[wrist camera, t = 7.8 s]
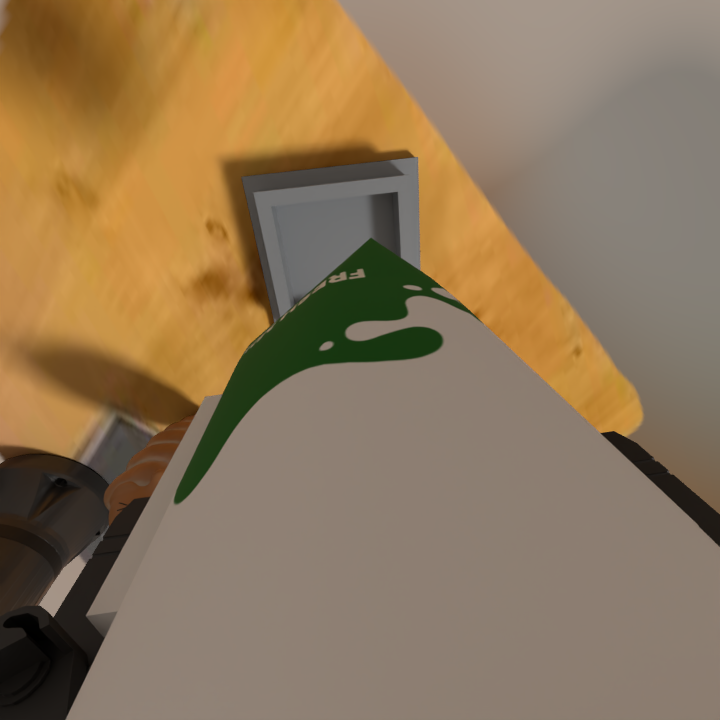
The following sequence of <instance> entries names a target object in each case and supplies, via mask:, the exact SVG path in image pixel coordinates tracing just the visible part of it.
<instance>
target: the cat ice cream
mask: <svg viewBox="0 0 720 720" xmlns="http://www.w3.org/2000/svg"><path fill="white" fill-rule="evenodd" d="M194 417H195V415H191V416H188V417H185V418H184V419H182V420H181V421H180V422H177V423H174V424H171V425H170V426H168V427H167V428H166V429H165V430H164V431H163V432H160V433H158V434H157V435H155V436H154V437H152V438H151V439H150V441H149V442H148V444H147V446H146V448H145V449H143V450H142V451H140V452H139V453H137V454H136V455H135V456H133V457H132V458H131V460H130V461H129V463H128V465H127V467H126V471H125V472H124V473H123V474H121V475H120V476H118V477H117V478H116V479H115V480H114V481H113V482H112V483H111V484H110V485H109V486H108V488H107V489H106V491H105V494H104V504H105V506H106V508H107V509H108V510H109V527H110V525H111V523H112V522H113V520H114V519H115V517H116V516H117V515H118V514H119V513H120V512H121V511H122V510H123V509H124V508H125V507H126V506H127V505H128V504H129V503H130V502H131V501H132V500H133V499H137V498H144V497H151V495H152V494H153V492H154V490H155V488H156V486H157V484H158V483H159V481H160V479H161V477H162V475H163V473H164V472H165V470H166V468H167V466H168V464H169V463H170V461H171V459H172V457H173V455H174V453H175V452H176V450H177V448H178V446H179V444H180V442H181V441H182V439H183V437H184V435H185V433H186V431H187V430H188V428H189V426H190V424H191V422H192V420H193V419H194Z"/></svg>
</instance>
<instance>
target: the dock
mask: <svg viewBox="0 0 720 720" xmlns="http://www.w3.org/2000/svg"><path fill="white" fill-rule="evenodd" d="M242 182H243V186H244V190H245V195H246V199H247V204H248V208H249V212H250V217H251V221H252V226H253V230H254V235H255V239H256V243H257V248H258V252H259V257H260V261H261V265H262V270H263V274H264V279H265V283H266V287H267V292H268V296H269V301H270V305H271V309H272V314H273V318H274V323H275V322H276V321H277V320H278V319H279V318H280V317H281V316H283V315H284V314H285V313H286V312H287V311H288V310H289V309H290V308H292V307H293V306H294V305H295V304H296V303H297V302H298V301H300V300H301V299H302V298H303V297H304V296H305V295H306V294H307V293H309V292H310V291H311V290H312V289H313V288H314V287H315V286H317V285H318V284H319V283H320V282H321V281H322V280H323V279H324V278H326V277H327V276H328V275H329V274H330V273H331V272H332V271H334V270H335V269H336V268H337V267H338V266H339V265H340V264H341V263H343V262H344V261H345V260H346V259H347V258H348V257H349V256H351V255H352V254H353V253H354V252H355V251H356V250H357V249H358V248H360V247H361V246H362V245H363V244H364V243H365V242H366V241H368V240H369V239H370V238H373V239H374V240H375V241H377V242H378V243H379V244H381V245H383V246H384V247H386V248H387V249H389V250H390V251H392V252H393V253H395V254H396V255H398V256H399V257H401V258H402V259H404V260H405V261H407V262H408V263H410V264H411V265H413V266H414V267H416V268H417V269H419V270H420V232H419V185H418V157H414V158H405V159H396V160H388V161H379V162H370V163H361V164H352V165H343V166H334V167H325V168H316V169H307V170H299V171H290V172H281V173H272V174H263V175H254V176H245V177H242Z"/></svg>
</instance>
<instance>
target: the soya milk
mask: <svg viewBox="0 0 720 720" xmlns="http://www.w3.org/2000/svg"><path fill="white" fill-rule="evenodd" d="M66 720H720V547H719V546H718V545H717V544H716V543H715V542H714V541H713V540H712V539H711V538H710V537H709V536H708V535H707V534H706V533H705V532H704V531H703V530H702V529H701V528H700V527H699V526H698V525H697V524H695V523H694V522H693V521H692V520H691V519H690V518H689V517H688V516H687V515H686V514H685V513H684V512H683V511H682V510H681V509H680V508H679V507H678V506H676V505H675V504H674V503H673V502H672V501H671V500H670V499H669V498H668V497H667V496H666V495H665V494H664V493H663V492H662V491H661V490H660V489H658V488H657V487H656V486H655V485H654V484H653V483H652V482H651V481H650V480H649V479H648V478H647V477H646V476H645V475H644V474H643V473H641V472H640V471H639V470H638V469H637V468H636V467H635V466H634V465H633V464H632V463H631V462H630V461H629V460H628V459H627V458H626V457H625V456H623V455H622V454H621V453H620V452H619V451H618V450H617V449H616V448H615V447H614V446H613V445H612V444H611V443H610V442H609V441H608V440H606V439H605V438H604V437H603V436H602V435H601V434H600V433H599V432H598V431H597V430H596V429H595V428H594V427H593V426H592V425H591V424H590V423H588V422H587V421H586V420H585V419H584V418H583V417H582V416H581V415H580V414H579V413H578V412H577V411H576V410H575V409H574V408H573V407H572V406H570V405H569V404H568V403H567V402H566V401H565V400H564V399H563V398H562V397H561V396H560V395H559V394H558V393H557V392H556V391H555V390H553V389H552V388H551V387H550V386H549V385H548V384H547V383H546V382H545V381H544V380H543V379H542V378H541V377H540V376H539V375H538V374H537V373H535V372H534V371H533V370H532V369H531V368H530V367H529V366H528V365H527V364H526V363H525V362H524V361H523V360H522V359H521V358H520V357H518V356H517V355H516V354H515V353H514V352H513V351H512V350H511V349H510V348H509V347H508V346H507V345H506V344H505V343H504V342H503V341H501V340H500V339H499V338H498V337H497V336H496V335H495V334H494V333H493V332H492V331H491V330H490V329H489V328H488V327H487V326H486V325H484V324H483V323H482V322H481V321H480V320H479V319H478V318H477V317H476V316H475V315H474V314H473V313H472V312H471V311H470V310H468V309H467V308H466V307H465V306H464V305H463V304H462V303H461V302H459V301H458V300H457V299H456V298H455V297H454V296H452V295H451V294H450V293H449V292H448V291H446V290H445V289H444V288H443V287H441V286H440V285H439V284H438V283H436V282H435V281H434V280H433V279H431V278H430V277H429V276H427V275H426V274H424V273H423V272H422V271H420V270H419V269H417V268H416V267H414V266H413V265H411V264H410V263H408V262H407V261H405V260H404V259H402V258H401V257H399V256H398V255H396V254H395V253H393V252H392V251H390V250H389V249H387V248H386V247H384V246H383V245H381V244H379V243H378V242H377V241H375V240H374V239H373V238H370V239H369V240H368V241H366V242H365V243H364V244H363V245H362V246H361V247H360V248H358V249H357V250H356V251H355V252H354V253H353V254H352V255H351V256H349V257H348V258H347V259H346V260H345V261H344V262H343V263H341V264H340V265H339V266H338V267H337V268H336V269H335V270H334V271H332V272H331V273H330V274H329V275H328V276H327V277H326V278H324V279H323V280H322V281H321V282H320V283H319V284H318V285H317V286H315V287H314V288H313V289H312V290H311V291H310V292H309V293H307V294H306V295H305V296H304V297H303V298H302V299H301V300H300V301H298V302H297V303H296V304H295V305H294V306H293V307H292V308H290V309H289V310H288V311H287V312H286V313H285V314H284V315H283V316H281V317H280V318H279V319H278V320H277V321H276V322H275V323H273V324H272V325H271V326H270V327H269V328H268V329H267V330H265V331H264V332H263V333H262V334H261V335H260V336H259V337H258V338H256V339H255V340H254V341H253V342H252V343H251V344H250V345H249V346H248V348H247V349H246V351H245V352H244V354H243V355H242V357H241V358H240V360H239V362H238V364H237V366H236V368H235V370H234V372H233V374H232V376H231V378H230V380H229V382H228V384H227V386H226V388H225V390H224V392H223V394H222V397H221V399H220V401H219V403H218V405H217V407H216V409H215V411H214V413H213V415H212V417H211V419H210V421H209V423H208V426H207V428H206V430H205V432H204V434H203V436H202V438H201V440H200V442H199V444H198V446H197V448H196V450H195V452H194V455H193V457H192V459H191V461H190V463H189V465H188V467H187V469H186V471H185V473H184V475H183V477H182V479H181V481H180V483H179V486H178V488H177V490H176V492H175V494H174V496H173V498H172V500H171V502H170V504H169V506H168V508H167V510H166V513H165V515H164V517H163V519H162V521H161V523H160V525H159V527H158V529H157V531H156V533H155V535H154V537H153V539H152V542H151V544H150V546H149V548H148V550H147V552H146V554H145V556H144V558H143V560H142V562H141V564H140V566H139V568H138V571H137V573H136V575H135V577H134V579H133V581H132V583H131V585H130V587H129V589H128V591H127V593H126V595H125V597H124V600H123V602H122V604H121V606H120V608H119V610H118V612H117V614H116V616H115V618H114V620H113V622H112V624H111V626H110V629H109V631H108V633H107V635H106V637H105V639H104V641H103V643H102V645H101V647H100V649H99V651H98V653H97V655H96V658H95V660H94V662H93V664H92V666H91V668H90V670H89V672H88V674H87V676H86V678H85V680H84V682H83V685H82V687H81V689H80V691H79V693H78V695H77V697H76V699H75V701H74V703H73V705H72V707H71V709H70V711H69V713H68V716H67V718H66Z"/></svg>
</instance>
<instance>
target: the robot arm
mask: <svg viewBox="0 0 720 720" xmlns="http://www.w3.org/2000/svg"><path fill="white" fill-rule="evenodd" d="M535 373H536V372H535ZM551 388H552V387H551ZM552 389H553V388H552ZM553 390H554V389H553ZM221 397H222V395H215V396H207V397H205V398H204V400H203V402H202V404H201V406H200V408H199V409H198V411H197V413H196V415H195V417H194V419H193V420H192V422H191V424H190V426H189V428H188V430H187V431H186V433H185V435H184V437H183V439H182V441H181V442H180V444H179V446H178V448H177V450H176V452H175V453H174V455H173V457H172V459H171V461H170V463H169V464H168V466H167V468H166V470H165V472H164V473H163V475H162V477H161V479H160V481H159V483H158V484H157V486H156V488H155V490H154V492H153V494H152V495H151V497H144V498H137V499H133V500H132V501H131V502H130V503H129V504H128V505H127V506H126V507H125V508H124V509H123V510H122V511H121V512H120V513H119V514H118V515H117V516H116V517H115V519H114V520H113V522H112V523H111V525H110V527H109V528H108V530H107V532H106V533H105V535H104V536H103V541H100V543H99V545H98V546H97V548H96V549H95V551H94V553H93V554H92V555H93V557H92V559H89V561H88V562H87V564H86V566H85V567H84V569H83V570H82V572H81V574H80V575H79V577H78V579H77V580H76V582H75V584H74V585H73V587H72V588H71V590H70V592H69V593H68V595H67V596H66V598H65V600H64V601H63V603H62V605H61V606H60V608H59V609H58V611H57V613H56V614H55V616H54V617H52V616H51V615H50V614H49V613H48V612H47V611H46V610H45V609H43V608H42V607H41V606H38V605H39V604H40V602H41V601H42V599H43V597H44V596H45V595H46V593H47V591H48V590H49V588H50V587H51V585H52V584H53V582H54V581H55V579H56V578H57V576H58V575H59V574H60V572H61V570H62V569H63V568H64V567H65V566H66V565H67V564H69V563H70V562H71V561H72V560H73V559H74V558H75V557H76V556H78V555H79V554H80V553H81V552H82V551H83V550H84V549H85V548H86V547H87V546H89V544H90V543H92V542H93V541H95V540H96V539H97V538H98V537H99V536H100V535H101V534H102V533H103V532H104V531H105V529H106V528H107V526H108V525H109V510H108V509H107V508H106V506H105V504H104V494H105V491H106V489H107V488H108V486H109V485H108V484H107V483H106V482H105V480H103V479H102V478H101V477H100V476H99V475H98V474H96V473H95V472H94V471H92V470H90V469H89V468H87V467H85V466H83V465H81V464H79V463H77V462H74V461H71V460H68V459H65V458H61V457H57V456H51V455H42V454H30V455H22V456H17V457H13V458H10V459H8V460H6V461H4V462H2V463H1V464H0V720H66V718H67V716H68V713H69V711H70V709H71V707H72V705H73V703H74V701H75V699H76V697H77V695H78V693H79V691H80V689H81V687H82V685H83V682H84V680H85V678H86V676H87V674H88V672H89V670H90V668H91V666H92V664H93V662H94V660H95V658H96V655H97V653H98V651H99V649H100V647H101V645H102V643H103V641H104V639H105V637H106V635H107V633H108V631H109V629H110V626H111V624H112V622H113V620H114V618H115V616H116V614H117V612H118V610H119V608H120V606H121V604H122V602H123V600H124V597H125V595H126V593H127V591H128V589H129V587H130V585H131V583H132V581H133V579H134V577H135V575H136V573H137V571H138V568H139V566H140V564H141V562H142V560H143V558H144V556H145V554H146V552H147V550H148V548H149V546H150V544H151V542H152V539H153V537H154V535H155V533H156V531H157V529H158V527H159V525H160V523H161V521H162V519H163V517H164V515H165V513H166V510H167V508H168V506H169V504H170V502H171V500H172V498H173V496H174V494H175V492H176V490H177V488H178V486H179V483H180V481H181V479H182V477H183V475H184V473H185V471H186V469H187V467H188V465H189V463H190V461H191V459H192V457H193V455H194V452H195V450H196V448H197V446H198V444H199V442H200V440H201V438H202V436H203V434H204V432H205V430H206V428H207V426H208V423H209V421H210V419H211V417H212V415H213V413H214V411H215V409H216V407H217V405H218V403H219V401H220V399H221ZM567 403H568V402H567ZM568 404H569V403H568ZM569 405H570V404H569ZM570 406H571V405H570ZM583 418H584V417H583ZM584 419H585V418H584ZM585 420H586V419H585ZM586 421H587V420H586ZM587 422H588V421H587ZM588 423H589V422H588ZM599 433H600V432H599ZM600 434H601V435H602V436H603V437H604V438H605V439H606V440H608V441H609V442H610V443H611V444H612V445H613V446H614V447H615V448H616V449H617V450H618V451H619V452H620V453H621V454H622V455H623V456H625V457H626V458H627V459H628V460H629V461H630V462H631V463H632V464H633V465H634V466H635V467H636V468H637V469H638V470H639V471H640V472H641V473H643V474H644V475H645V476H646V477H647V478H648V479H649V480H650V481H651V482H652V483H653V484H654V485H655V486H656V487H657V488H658V489H660V490H661V491H662V492H663V493H664V494H665V495H666V496H667V497H668V498H669V499H670V500H671V501H672V502H673V503H674V504H675V505H676V506H678V507H679V508H680V509H681V510H682V511H683V512H684V513H685V514H686V515H687V516H688V517H689V518H690V519H691V520H692V521H693V522H694V523H695V524H697V525H698V526H699V527H700V528H701V529H702V530H703V531H704V532H705V533H706V534H707V535H708V536H709V537H710V538H711V539H712V540H713V541H714V542H715V543H716V544H717V545H718V546H719V547H720V514H718V513H717V512H716V511H715V510H714V509H713V508H711V507H710V506H709V505H708V504H707V503H706V502H704V501H703V500H702V499H701V498H700V497H699V496H697V495H696V494H695V493H694V492H693V491H691V489H689V488H688V487H687V486H686V485H685V484H684V483H682V482H681V481H680V480H679V479H678V478H677V477H675V476H674V475H670V473H669V471H668V470H667V469H666V468H665V467H664V466H663V465H661V464H660V463H659V462H656V461H655V460H654V458H653V457H652V456H651V455H650V454H649V453H647V452H646V451H645V450H644V449H643V448H641V447H640V446H639V445H638V444H637V443H635V442H634V441H631V440H630V439H628V438H626V437H624V436H622V435H620V434H618V433H616V432H615V431H612V432H605V433H600Z"/></svg>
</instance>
